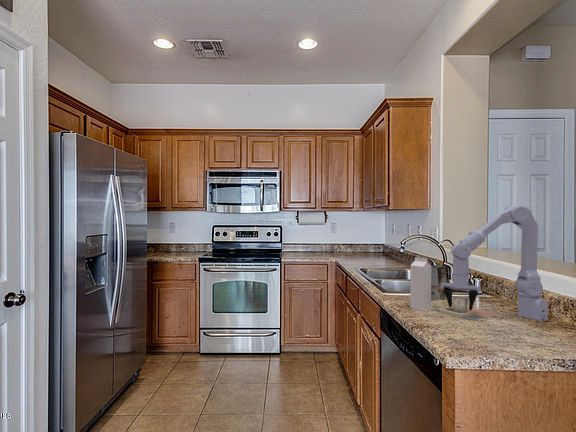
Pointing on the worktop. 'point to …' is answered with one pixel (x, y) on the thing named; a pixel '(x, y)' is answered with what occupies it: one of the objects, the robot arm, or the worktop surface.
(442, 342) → the worktop surface
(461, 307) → the jug
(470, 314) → the jug holder
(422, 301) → the milk
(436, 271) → the coffee box
